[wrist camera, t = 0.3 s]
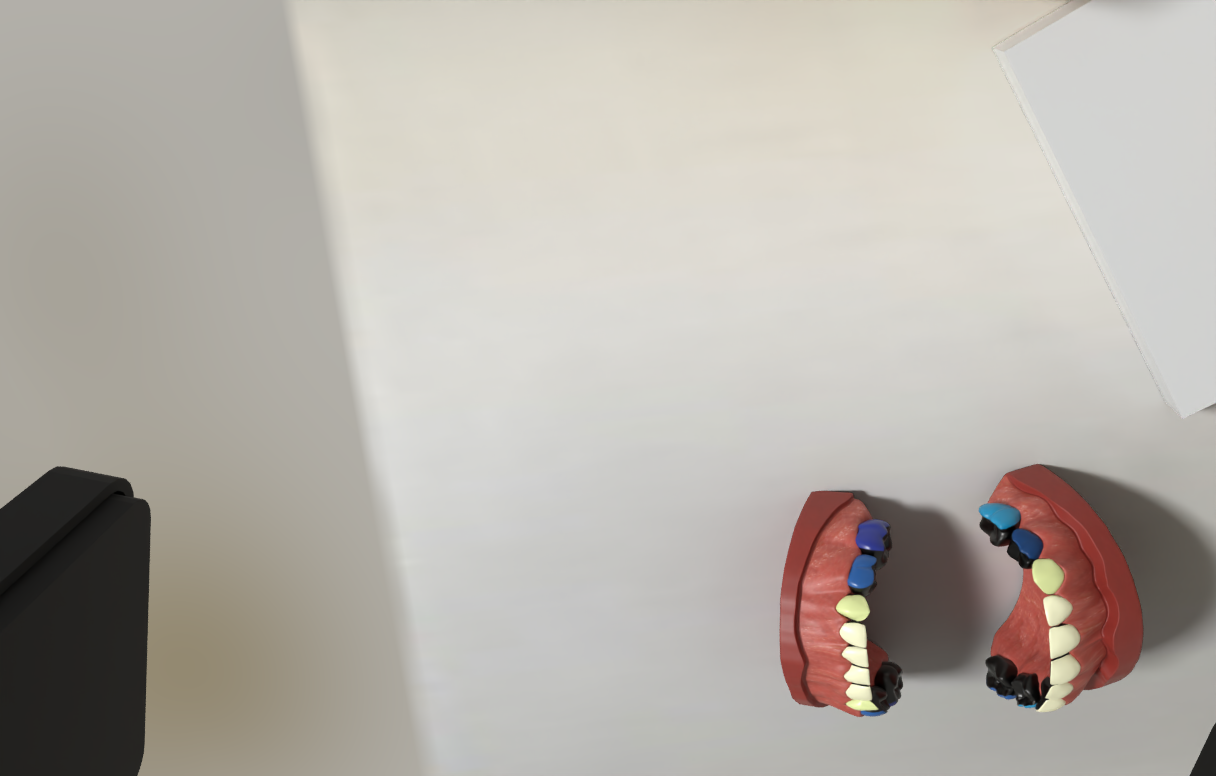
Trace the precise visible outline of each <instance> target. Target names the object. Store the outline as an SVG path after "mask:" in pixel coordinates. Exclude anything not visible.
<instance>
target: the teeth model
mask: <svg viewBox="0 0 1216 776" xmlns="http://www.w3.org/2000/svg"><path fill="white" fill-rule="evenodd" d="M979 512H980V514H981V515H982V520H981V522H980V528H981V529H982V530H983V531H984V532H985V533H986V534H988V535H989V536H990V542H991V543H992V544H993V545H994V546H998V547H1001V546H1007V545H1009V546H1008V549H1007V553H1008V555H1009V556H1010V557H1012V558H1013V559H1015V560H1016V561H1018V562H1019V565H1020V566H1021V567H1022V568H1023V584H1022V589H1021V593H1020V595H1019V598H1018V601H1017V603H1016V605H1015V607H1014V609H1013V611H1012V613H1011V614H1010V616H1009V618H1008V619H1007V620H1006V622H1005V623H1004V624H1003V625H1002V626H1001V627H1000V628H999V629H998V631H997V632H996V634H995V636H994V639H993V643H992V647H991V657H989V658H988V659H987V660H986V662H985V663H986V666H987V667H988V673H987V676H986V685H987V687H988V688H990V689H991V690H994V691H996V692H997V695H998V696H1000V697H1004V698H1005V699H1014V698H1016V701H1017V705H1018V706H1021V707H1025V708H1033V707H1036V711H1037V712H1050V711H1055V710H1057V709H1059V708H1061V707H1063V706H1064V705H1067V704H1069V703H1071V702H1072V701H1073V700H1074V699H1075V698H1076V697H1077V696H1078V695H1079V694H1080V693H1081V692H1082V691H1083V690H1092V689H1096V688H1100V687H1103V686H1106V685H1109V684H1111V683H1114V682H1117V681H1119V680H1121V679H1123V678H1124V677H1126V676H1127V675H1128V674H1129V673H1130V672H1131V671H1132V670H1133V668H1134V667H1135V665H1136V663H1137V661H1138V659H1139V656H1140V653H1141V648H1142V642H1143V619H1142V611H1141V605H1140V601H1139V597H1138V594H1137V591H1136V587H1135V584H1134V580H1133V577H1132V575H1131V572H1130V570H1129V567H1128V565H1127V562H1126V560H1125V558H1124V556H1123V554H1122V552H1121V550H1120V548H1119V547H1118V545H1117V543H1116V542H1115V540H1114V539H1113V537H1112V535H1111V534H1110V531H1109V530H1108V528H1107V526H1106V525H1105V524H1104V522H1103V521H1102V520H1101V519H1100V518H1099V516H1098V515H1097V514H1096V513H1095V511H1094V510H1093V509H1092V508H1091V506H1090V505H1089V504H1088V503H1087V502H1086V501H1085V500H1084V499H1083V498H1082V497H1081V496H1080V495H1079V494H1078V493H1077V492H1076V491H1075V490H1074V489H1073V488H1072V487H1071V486H1070V485H1069V484H1067V483H1066V482H1065V481H1064V480H1062V479H1061V478H1060V477H1058V476H1057V475H1056V474H1054V473H1053V472H1051V471H1050V470H1048V469H1047V468H1045V467H1044V466H1042V465H1040V464H1035V465H1031V466H1028V467H1025V468H1021V469H1018V470H1015V471H1012V472H1009V473H1007V474H1005V475H1004V477H1003V478H1002V479H1001V481H1000V483H999V484H998V486H997V487H996V489H995V491H994V492H993V494H992V495H991V497H990V499H989V501H988V503H987V504H984V505H982V506H980V507H979ZM891 548H892V541H891V537H890V525H889V524H888V523H887V522H885V521H882V520H878V519H873V518H872V516H871V515H870V513H869V511H868V509H867V508H866V506H865V505H864V504H863V502H862V501H860V500H858V499H854V497H853V493H847V492H833V491H815V492H811V494H810V496H809V497H808V499H807V501H806V503H805V505H804V507H803V509H802V511H801V513H800V516H799V518H798V520H797V523H796V526H795V528H794V532H793V535H792V539H791V543H790V547H789V550H788V554H787V559H786V563H785V568H784V574H783V582H782V589H781V598H780V659H781V665H782V669H783V673H784V677H785V680H786V683H787V685H788V687H789V690H790V692H791V696H792V698H793V699H794V700H795V701H796V702H798V703H799V704H802V705H808V706H814V707H825V706H828V705H830V706H833V707H836V708H838V709H840V710H842V711H845V712H847V713H849V714H852V715H854V716H857V717H862V716H864V715H865V716H880V715H883V714H885V713H887V712H888V711H887V710H888V709H889V708H890V707H891V706H893V705H895V704H896V703H897V702H898V699H900V698H901V693H900V690H901V689H902V687H903V682H902V678H901V674H902V669H901V668H900V667H899V666H898V665H897V664H895V663H893V662H889V661H888V655H887V653H886V652H885V651H884V650H883V649H881V648H880V647H878V646H877V645H875V644H874V643H872V642H871V641H869V640H868V639H867V635H866V628H865V625H863V624H862V623H860V622H857V621H862V620H864V619H866V618H867V616H868V615H869V613H870V609H869V606H868V604H867V602H866V599H865V598H864V597H865V596H867V595H869V594H870V593H871V591H872V590H873V589H874V588H875V587H876V585H877V582H876V581H875V575H876V572H875V570H878V569H881V568H882V567H883V566H884V565H885V564H886V562H887V560H888V557H889V553H888V551H889V550H890V549H891ZM851 619H853V620H855V621H850V620H851Z"/></svg>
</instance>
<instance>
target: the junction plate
mask: <svg viewBox="0 0 1216 776" xmlns="http://www.w3.org/2000/svg"><path fill="white" fill-rule="evenodd" d="M992 49H993V51H994V53H995V55H996V57H997V59H998V61H999V63H1000V65H1001V68H1002V70H1003V72H1004V74H1005V76H1006V78H1007V80H1008V82H1009V84H1010V86H1011V88H1012V90H1013V92H1014V94H1015V96H1016V98H1017V100H1018V102H1019V104H1020V106H1021V108H1022V110H1023V113H1024V115H1025V117H1026V119H1027V121H1028V123H1029V125H1030V127H1031V129H1032V131H1033V133H1034V135H1035V137H1036V139H1037V141H1038V143H1039V145H1040V147H1041V149H1042V151H1043V153H1044V155H1045V157H1046V160H1047V162H1048V164H1049V166H1050V168H1051V170H1052V172H1053V174H1054V176H1055V178H1056V180H1057V182H1058V184H1059V186H1060V188H1061V190H1062V192H1063V194H1064V196H1065V198H1066V200H1067V202H1068V205H1069V207H1070V209H1071V211H1072V213H1073V215H1074V217H1075V219H1076V221H1077V223H1078V225H1079V227H1080V229H1081V231H1082V233H1083V235H1084V237H1085V239H1086V241H1087V243H1088V245H1089V247H1090V249H1091V252H1092V254H1093V256H1094V258H1095V260H1096V262H1097V264H1098V266H1099V268H1100V270H1101V272H1102V274H1103V276H1104V278H1105V280H1106V282H1107V284H1108V286H1109V288H1110V290H1111V292H1112V294H1113V297H1114V299H1115V301H1116V303H1117V305H1118V307H1119V309H1120V311H1121V313H1122V315H1123V317H1124V319H1125V321H1126V323H1127V325H1128V327H1129V329H1130V331H1131V333H1132V335H1133V337H1134V339H1135V342H1136V344H1137V346H1138V348H1139V350H1140V352H1141V354H1142V356H1143V358H1144V360H1145V362H1146V364H1147V366H1148V368H1149V370H1150V372H1151V374H1152V376H1153V378H1154V380H1155V382H1156V384H1157V386H1158V389H1159V391H1160V393H1161V395H1162V397H1163V399H1164V401H1165V402H1166V403H1167V404H1168V405H1169V406H1170V407H1171V408H1172V409H1173V410H1174V411H1175V412H1176V413H1177V414H1178V415H1179V416H1180V417H1181V418H1182V419H1183V418H1185V417H1187V416H1189V415H1192V414H1194V413H1196V412H1198V411H1200V410H1202V409H1204V408H1206V407H1208V406H1211V405H1213V404H1215V403H1216V0H1072V1H1070V2H1068V3H1067V4H1065V5H1063V6H1062V7H1060V8H1058V9H1057V10H1055V11H1053V12H1052V13H1050V14H1048V15H1046V16H1045V17H1043V18H1041V19H1040V20H1038V21H1036V22H1035V23H1033V24H1031V25H1029V26H1028V27H1026V28H1024V29H1023V30H1021V31H1019V32H1018V33H1016V34H1014V35H1012V36H1011V37H1009V38H1007V39H1006V40H1004V41H1002V42H1001V43H999V44H997V45H995V46H994V47H992Z"/></svg>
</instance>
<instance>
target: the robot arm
mask: <svg viewBox="0 0 1216 776" xmlns="http://www.w3.org/2000/svg"><path fill="white" fill-rule="evenodd" d="M150 526H151V515H150V508H149V505H148V503H147V502H146V501H145V500H143V499H138V498H134V495H133V490H132V487H131V484H130V483H129V482H128V481H127V480H126V479H124V478H119V477H114V476H109V475H104V474H98V473H94V472H89V471H84V470H78V469H73V468H68V467H55V468H53V469H51V470H49V471H48V472H47V473H46V474H44V475H43V476H42V477H40V478H39V479H38V480H37V481H35V482H34V483H33V484H31V485H30V486H29V487H28V488H27V489H25V490H24V491H23V492H21V493H20V494H19V495H18V496H16V497H15V498H14V499H13V500H11V501H10V502H9V503H7V504H6V505H5V506H4V507H2V508H1V509H0V776H137V775H138V772H139V769H140V766H141V762H142V758H143V754H144V742H145V707H146V669H147V635H148V598H149V562H150ZM1190 776H1216V723H1215V725H1214V726H1213V728H1212V730H1211V732H1210V734H1209V736H1208V738H1207V741H1206V743H1205V745H1204V747H1203V749H1202V751H1201V753H1200V755H1199V757H1198V759H1197V761H1196V764H1195V766H1194V768H1193V770H1192V772H1191V774H1190Z"/></svg>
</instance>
